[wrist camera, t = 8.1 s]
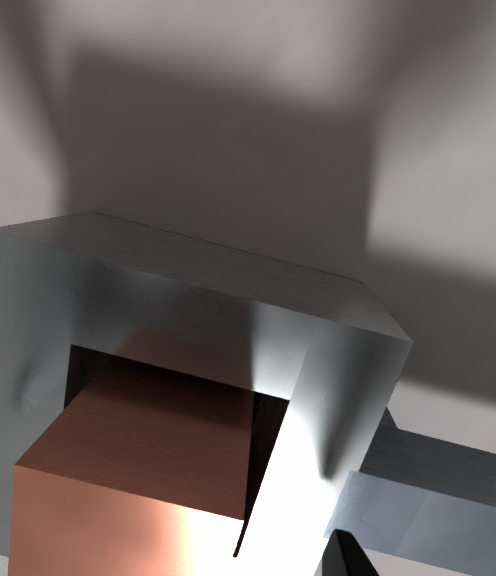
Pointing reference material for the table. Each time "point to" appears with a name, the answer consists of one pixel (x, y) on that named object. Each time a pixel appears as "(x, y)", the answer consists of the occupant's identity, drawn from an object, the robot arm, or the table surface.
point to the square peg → (135, 478)
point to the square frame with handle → (243, 386)
